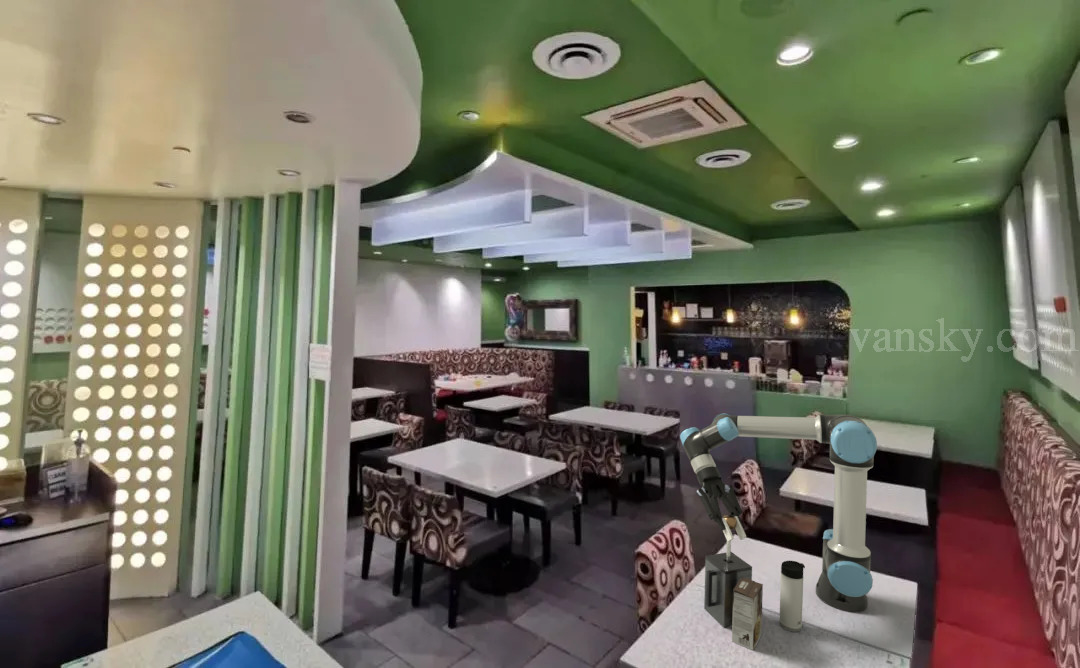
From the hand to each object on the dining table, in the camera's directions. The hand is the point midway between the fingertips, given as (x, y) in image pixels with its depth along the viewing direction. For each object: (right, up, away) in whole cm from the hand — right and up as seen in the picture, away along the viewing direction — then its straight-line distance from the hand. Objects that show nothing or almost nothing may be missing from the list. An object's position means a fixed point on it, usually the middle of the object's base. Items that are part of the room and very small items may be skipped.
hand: (737, 538), depth 152 cm
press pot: (-2, -27, +4) cm, 27 cm away
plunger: (-1, -18, +4) cm, 19 cm away
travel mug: (+17, -27, 0) cm, 32 cm away
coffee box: (0, -28, -6) cm, 28 cm away
